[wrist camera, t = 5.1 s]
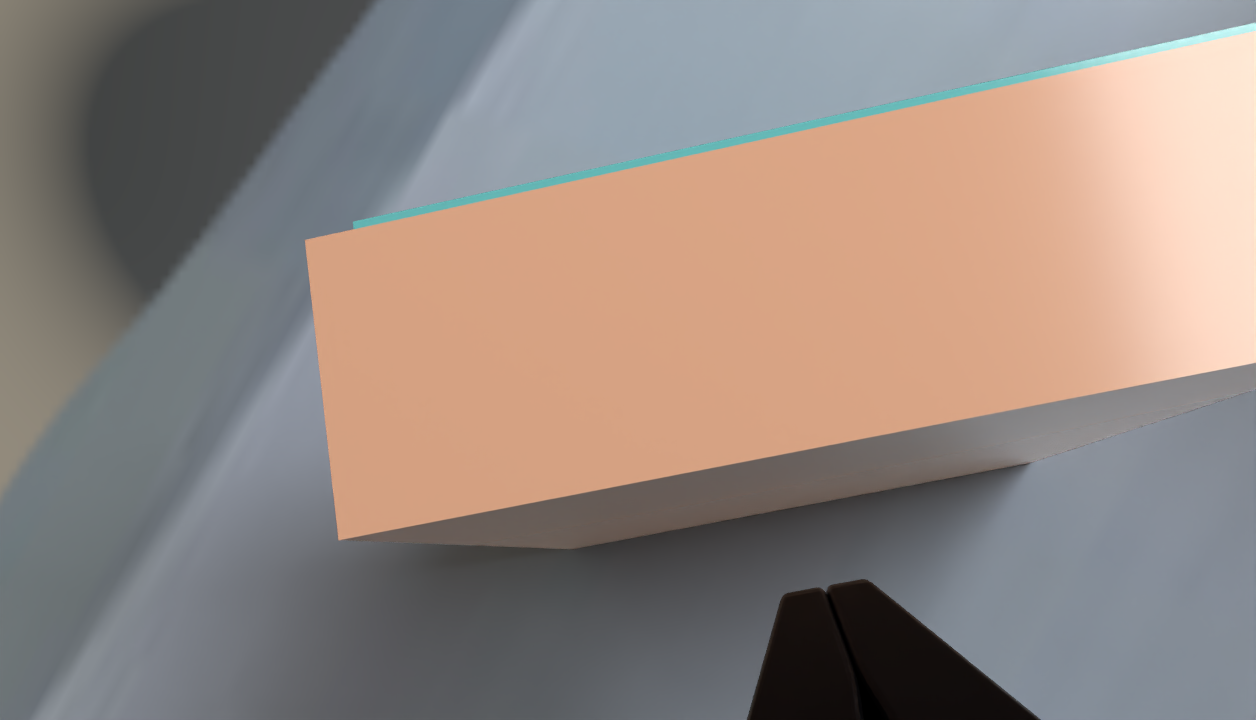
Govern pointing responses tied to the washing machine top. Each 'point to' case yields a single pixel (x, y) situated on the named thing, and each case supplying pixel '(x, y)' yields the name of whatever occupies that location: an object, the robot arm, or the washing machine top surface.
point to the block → (799, 308)
